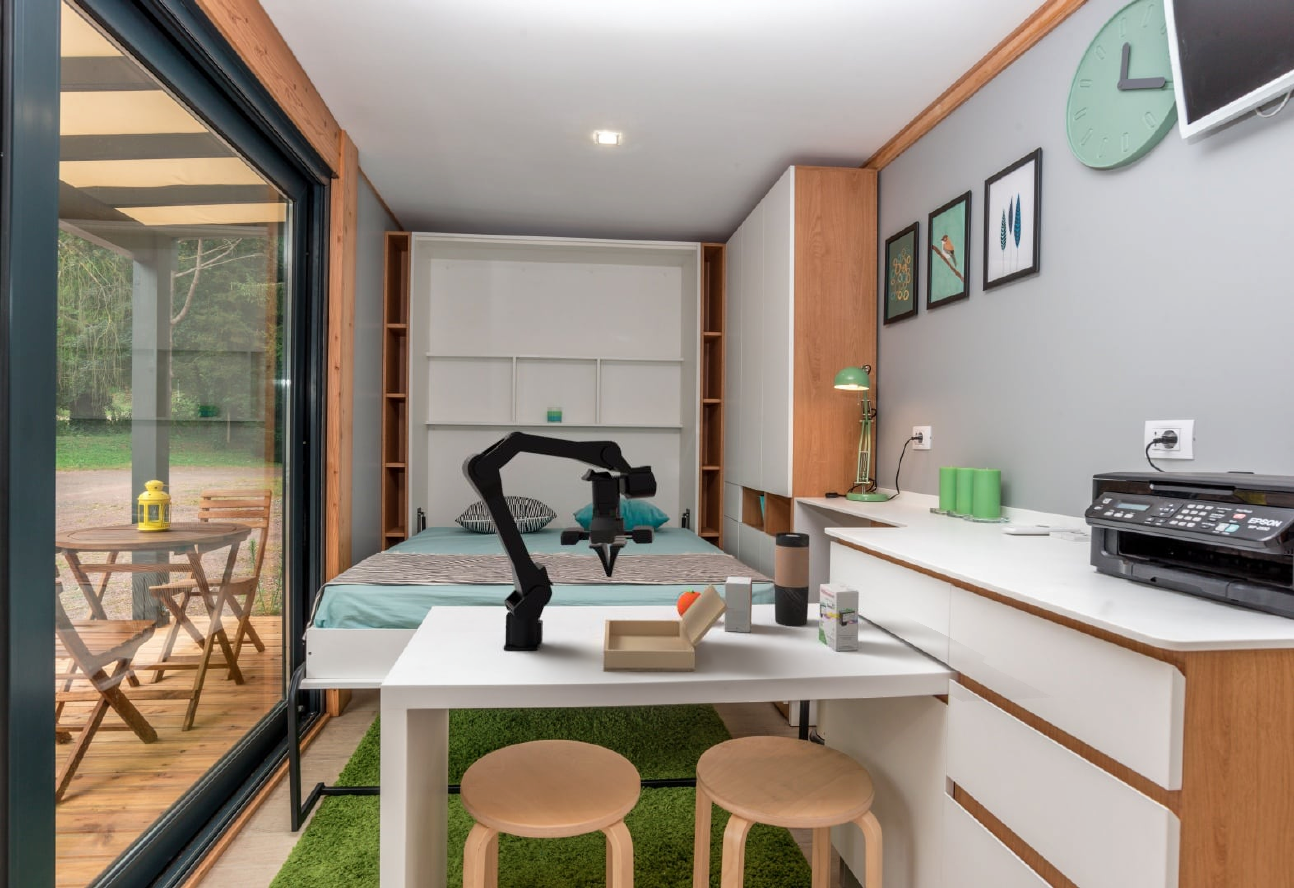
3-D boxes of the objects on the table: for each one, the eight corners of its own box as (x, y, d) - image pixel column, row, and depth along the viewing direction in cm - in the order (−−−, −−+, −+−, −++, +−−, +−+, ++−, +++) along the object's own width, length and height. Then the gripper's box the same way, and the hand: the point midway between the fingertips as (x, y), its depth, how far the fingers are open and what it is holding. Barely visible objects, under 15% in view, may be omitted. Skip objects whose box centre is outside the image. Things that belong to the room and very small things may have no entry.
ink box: (817, 639, 145) (818, 582, 145) (840, 638, 146) (841, 582, 146) (835, 651, 137) (836, 591, 137) (859, 650, 137) (860, 590, 137)
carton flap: (691, 643, 124) (725, 604, 124) (681, 616, 144) (710, 583, 144) (695, 646, 124) (728, 607, 124) (684, 618, 144) (713, 585, 144)
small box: (750, 633, 149) (750, 583, 149) (723, 631, 150) (724, 582, 150) (751, 624, 157) (752, 577, 157) (726, 622, 158) (727, 575, 158)
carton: (603, 670, 122) (603, 650, 122) (605, 636, 144) (605, 619, 144) (694, 671, 123) (694, 651, 123) (682, 637, 145) (682, 620, 145)
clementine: (666, 621, 158) (667, 589, 158) (685, 615, 163) (685, 585, 163) (695, 627, 153) (696, 595, 153) (713, 621, 158) (714, 590, 158)
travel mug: (812, 621, 160) (814, 534, 160) (801, 628, 154) (803, 537, 154) (781, 616, 164) (782, 531, 164) (768, 623, 158) (770, 534, 158)
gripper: (552, 508, 136) (556, 587, 137) (648, 505, 134) (651, 586, 135) (564, 500, 147) (567, 574, 148) (653, 498, 146) (655, 572, 146)
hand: (609, 576), depth 144 cm, fingers closed
